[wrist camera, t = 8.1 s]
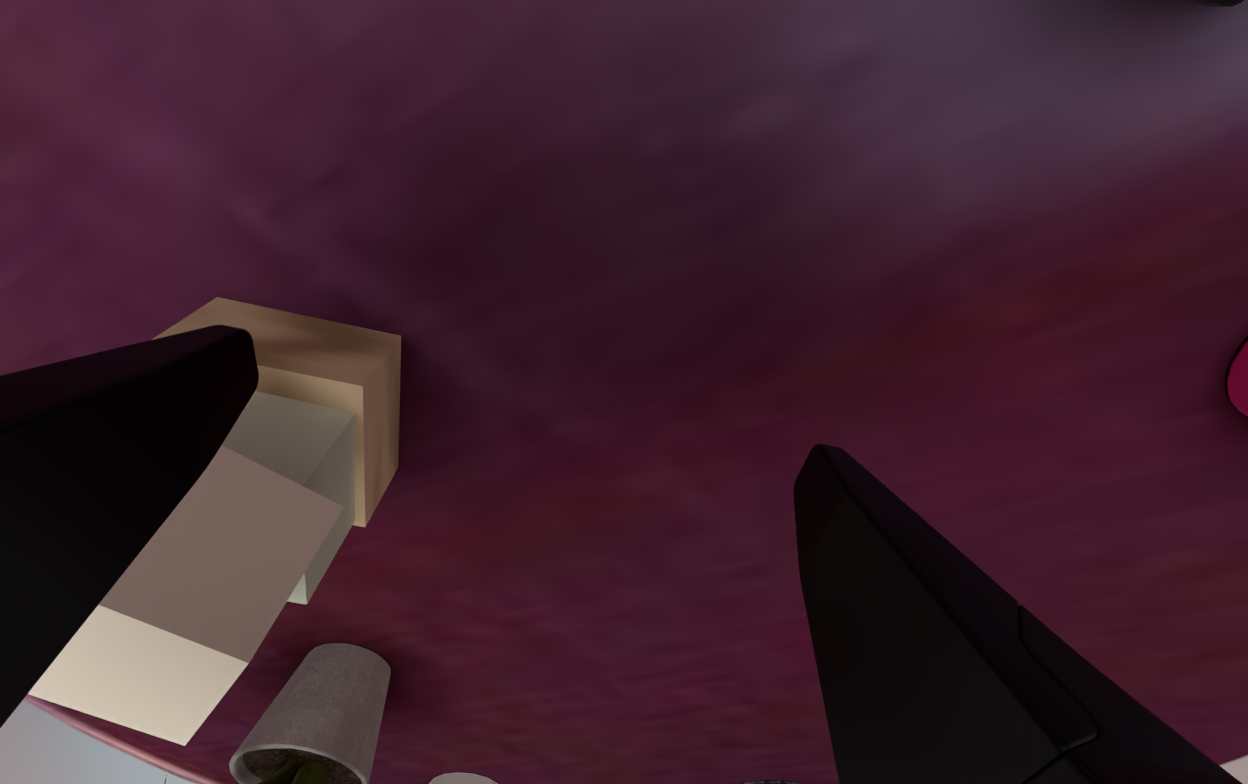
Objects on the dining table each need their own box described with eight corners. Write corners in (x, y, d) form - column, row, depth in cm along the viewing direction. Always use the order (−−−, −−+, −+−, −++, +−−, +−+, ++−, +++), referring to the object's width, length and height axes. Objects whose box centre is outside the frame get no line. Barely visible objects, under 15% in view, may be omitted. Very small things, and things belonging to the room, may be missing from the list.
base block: (403, 333, 23) (362, 386, 20) (400, 463, 27) (365, 527, 23) (220, 294, 22) (146, 342, 19) (243, 434, 26) (184, 495, 23)
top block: (355, 412, 20) (298, 490, 17) (355, 520, 23) (306, 604, 20) (191, 377, 20) (98, 450, 16) (212, 492, 23) (137, 574, 19)
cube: (344, 507, 17) (248, 663, 13) (283, 589, 19) (185, 745, 15) (172, 420, 16) (0, 566, 11) (127, 521, 18) (-32, 674, 14)
